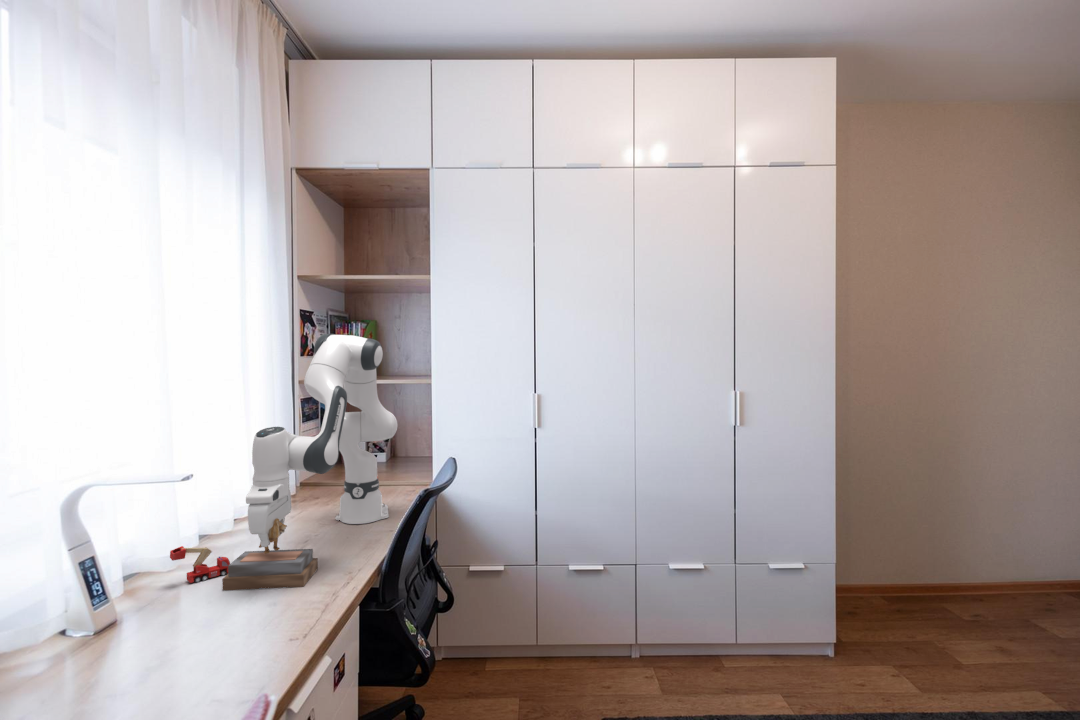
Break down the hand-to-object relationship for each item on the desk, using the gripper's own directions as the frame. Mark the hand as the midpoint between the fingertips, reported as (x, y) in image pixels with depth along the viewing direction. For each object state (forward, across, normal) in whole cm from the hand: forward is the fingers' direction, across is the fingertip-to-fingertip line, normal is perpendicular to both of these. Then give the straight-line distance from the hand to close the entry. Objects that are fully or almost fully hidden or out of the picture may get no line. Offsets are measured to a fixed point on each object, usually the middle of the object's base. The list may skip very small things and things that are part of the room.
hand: (272, 540), depth 148 cm
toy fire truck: (+11, -2, -19) cm, 22 cm away
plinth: (+10, 0, 0) cm, 11 cm away
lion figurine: (+3, -2, -1) cm, 3 cm away
